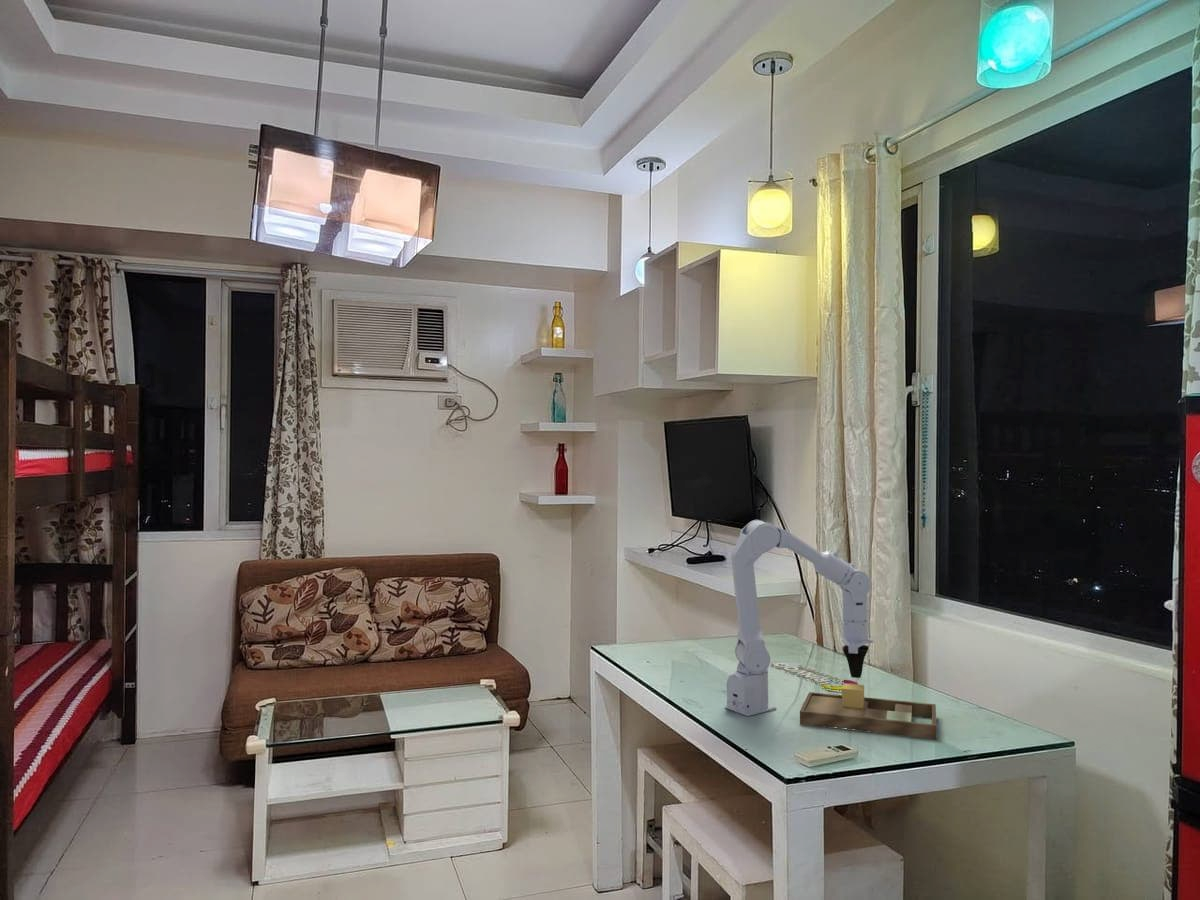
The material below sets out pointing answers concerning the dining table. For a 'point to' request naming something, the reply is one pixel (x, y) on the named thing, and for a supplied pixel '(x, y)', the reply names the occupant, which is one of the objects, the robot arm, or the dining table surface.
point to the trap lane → (869, 715)
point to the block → (853, 695)
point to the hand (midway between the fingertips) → (856, 677)
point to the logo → (812, 677)
